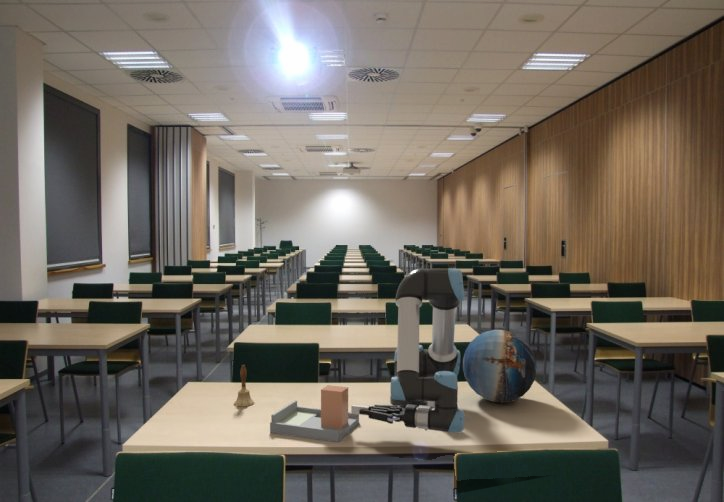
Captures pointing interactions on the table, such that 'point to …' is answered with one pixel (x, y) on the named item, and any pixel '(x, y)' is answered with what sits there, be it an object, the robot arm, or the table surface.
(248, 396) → the hand bell
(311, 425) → the tray
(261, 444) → the table surface
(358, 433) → the table surface
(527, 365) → the decorative globe
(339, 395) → the terracotta brick
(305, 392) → the table surface
